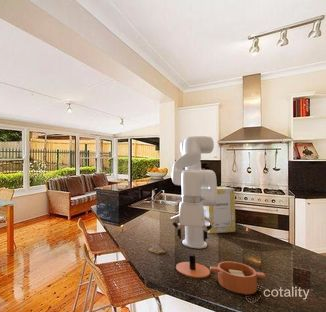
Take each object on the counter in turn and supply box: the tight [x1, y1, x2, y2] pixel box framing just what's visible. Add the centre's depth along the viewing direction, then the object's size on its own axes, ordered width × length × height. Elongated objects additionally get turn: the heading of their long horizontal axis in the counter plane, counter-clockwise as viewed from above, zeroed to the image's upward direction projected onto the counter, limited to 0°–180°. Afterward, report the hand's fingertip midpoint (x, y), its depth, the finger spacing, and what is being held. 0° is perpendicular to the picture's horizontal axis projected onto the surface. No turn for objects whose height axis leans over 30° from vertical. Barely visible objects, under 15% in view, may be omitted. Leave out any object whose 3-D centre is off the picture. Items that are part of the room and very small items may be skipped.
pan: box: [209, 260, 267, 295], centre depth 88 cm, size 12×18×6 cm
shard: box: [148, 243, 166, 255], centre depth 122 cm, size 11×8×2 cm
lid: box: [175, 253, 211, 279], centre depth 100 cm, size 13×13×7 cm
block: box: [229, 269, 244, 276], centre depth 88 cm, size 4×4×4 cm
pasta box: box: [201, 186, 236, 234], centre depth 154 cm, size 18×10×28 cm, turn 98°
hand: (192, 239), depth 100 cm, fingers open, 9 cm apart
